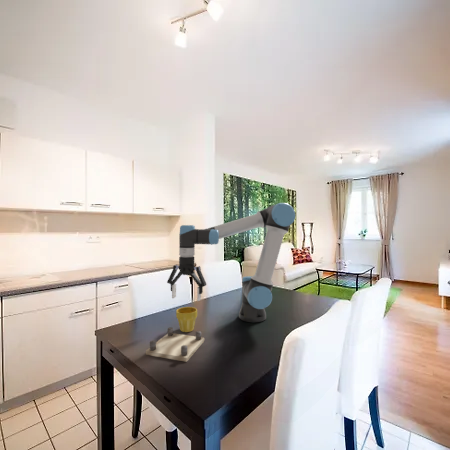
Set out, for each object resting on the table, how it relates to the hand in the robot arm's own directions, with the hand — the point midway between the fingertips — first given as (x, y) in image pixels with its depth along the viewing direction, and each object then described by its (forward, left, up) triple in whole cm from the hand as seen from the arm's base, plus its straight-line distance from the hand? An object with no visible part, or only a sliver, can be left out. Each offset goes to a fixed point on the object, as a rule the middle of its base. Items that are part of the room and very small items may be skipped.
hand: (186, 299), depth 125 cm
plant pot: (0, 0, -15) cm, 15 cm away
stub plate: (-4, +18, -15) cm, 24 cm away
